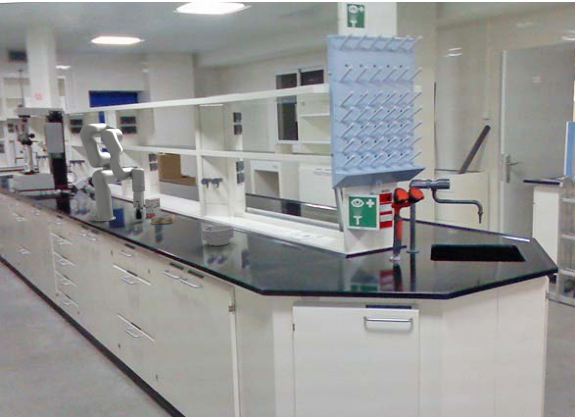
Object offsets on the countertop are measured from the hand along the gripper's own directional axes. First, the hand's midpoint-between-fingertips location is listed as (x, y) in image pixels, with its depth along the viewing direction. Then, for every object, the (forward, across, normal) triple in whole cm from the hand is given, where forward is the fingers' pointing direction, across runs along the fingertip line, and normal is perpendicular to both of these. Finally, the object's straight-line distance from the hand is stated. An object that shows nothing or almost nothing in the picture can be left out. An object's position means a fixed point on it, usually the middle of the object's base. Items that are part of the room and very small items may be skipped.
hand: (140, 217), depth 340 cm
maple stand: (+2, +4, +15) cm, 16 cm away
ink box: (+3, -17, +5) cm, 18 cm away
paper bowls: (0, +71, +53) cm, 89 cm away
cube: (+1, 0, 0) cm, 1 cm away
